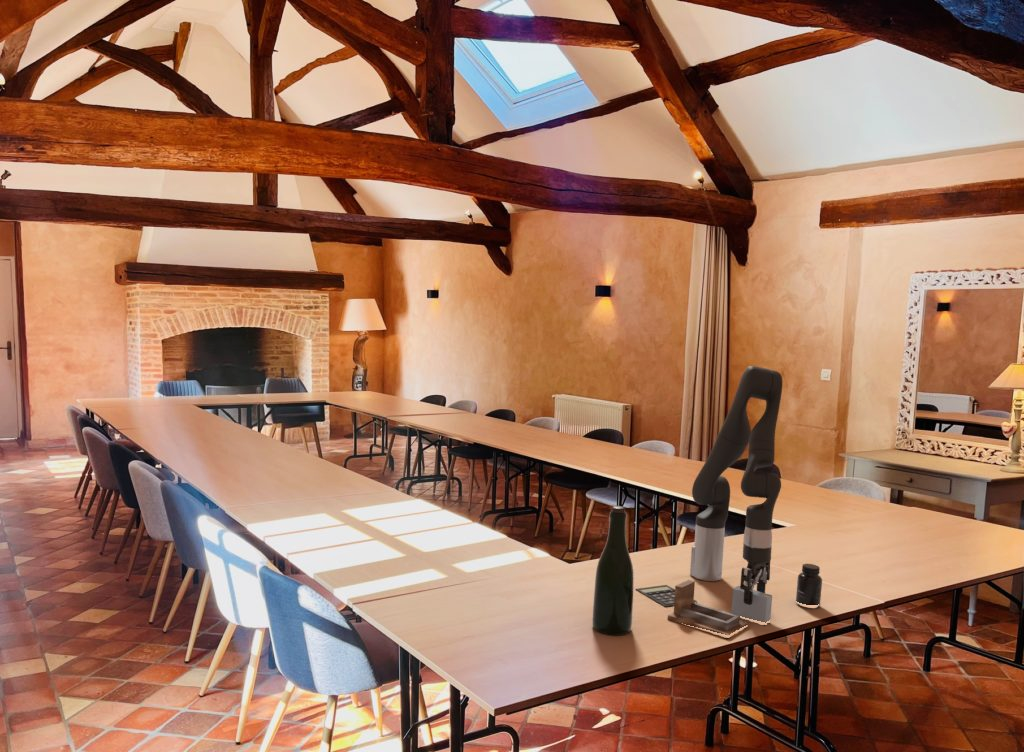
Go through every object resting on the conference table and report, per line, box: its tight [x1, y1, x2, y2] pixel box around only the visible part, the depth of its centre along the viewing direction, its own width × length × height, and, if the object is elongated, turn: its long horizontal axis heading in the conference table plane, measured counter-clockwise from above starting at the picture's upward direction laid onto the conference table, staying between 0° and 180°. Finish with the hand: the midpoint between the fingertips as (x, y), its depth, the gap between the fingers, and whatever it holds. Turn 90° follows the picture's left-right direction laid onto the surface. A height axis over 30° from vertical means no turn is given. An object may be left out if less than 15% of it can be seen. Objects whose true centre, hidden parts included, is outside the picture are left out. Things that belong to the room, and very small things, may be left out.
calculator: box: [635, 584, 698, 608], centre depth 233 cm, size 12×1×15 cm
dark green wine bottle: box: [591, 505, 635, 636], centre depth 205 cm, size 10×10×33 cm
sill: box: [667, 579, 749, 635], centre depth 213 cm, size 18×12×9 cm, turn 48°
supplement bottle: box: [795, 563, 823, 605], centre depth 230 cm, size 7×7×12 cm
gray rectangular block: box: [730, 585, 773, 623], centre depth 217 cm, size 10×4×8 cm, turn 48°
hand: (754, 600), depth 216 cm, fingers open, 8 cm apart
